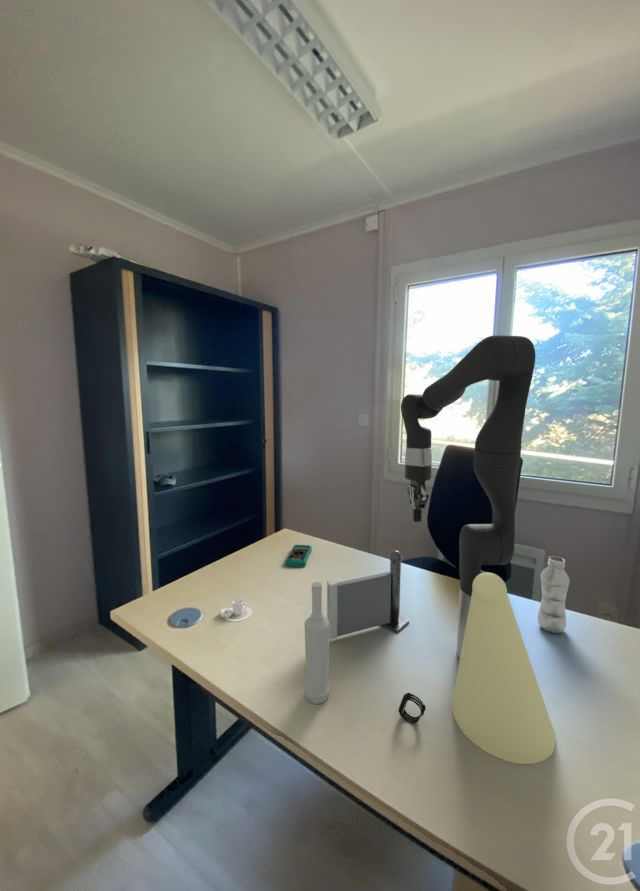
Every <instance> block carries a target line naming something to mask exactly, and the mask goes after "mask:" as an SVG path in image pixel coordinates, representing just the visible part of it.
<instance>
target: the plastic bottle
mask: <svg viewBox="0 0 640 891" xmlns="http://www.w3.org/2000/svg"><path fill="white" fill-rule="evenodd" d="M565 569H566V560H565V559H564V558H563V557H559V556H556V555H555V556H553V555H551V556H549V557H548V561H547V567H545V568H544V569H543V570H542V572H541V573H540V582H541V584H540V585H541V601H540V606H539V609H538V612H537V623H538V625H539V626H540V628H542V629H543V630H545V631H547V632H549V633H554V634H561V633H563V632H564V631H565V630H566V627H567V616H566V599H567V593H568V590H569V586H570V582H571V580H570V577H569V576H568V574H567V572H566V571H565Z"/></svg>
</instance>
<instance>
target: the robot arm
mask: <svg viewBox="0 0 640 891" xmlns="http://www.w3.org/2000/svg"><path fill="white" fill-rule="evenodd" d="M535 364H536V348H535V346H534V344H533V342H532V340H531V339H529V338H528V337H526V336H523V335H522V336H521V335H502V334H500V335H499V334H498V335H497V334H496V335H489V336H487V337H484V338H482V340H480V341H479V342H478V343H476V344H475V346H473V348H472V349H470V351H469V352H467V353H466V354H465V356H463V358H462V359H461V360H460V361H459V362H457V364H455V366H454V367H453V368H452V369H451V370H449V371H448V372H447V373H446V374H445V375H444V376H442V377H440V378H439V379H437V380H436V381H434V382H432V383H431V384H430V385H428V386H427V387H426V388H425V389H424V390H423V393H422V394H420V393H416V394H414V393H413V394H412V393H409V394H405V396H404V397H403V399H402V400H401V402H400V410H401V412H400V413H401V416H402V419H403V423H404V428H405V434H406V448H405V454H404V478H405V479H406V480H407V481H410V482H409V485H408V486H407V494H408V499H409V504H410V505H411V508H412V521H413V522H415V523H416V522H417V523H421V522H422V510H423V509H426V506H427V504H428V501H429V498H430V494H429V493H427V486H426V482H427V481H430V480H431V479H432V461H433V460H432V459H433V458H432V456H433V454H432V430H431V429H430V428H429V427H426V426H425V427H424V426H422V425H420V423H419V420H418V419H420V420H422V419H423V420H424V419H426V420H427V419H432V418H435V417H436V416H438V415H439V414H440V413H441V411H442V410H443V409H444V408H446V407H448V406H450V405H451V404H453V403H455V402H457V401H458V400H459V399H460V398H462V396H463V395H464V393H465V392H466V388H469V386H471V385H473V384H477V383H480V382H483V381H493V382H495V381H496V382H499V383H498V390H497V398H496V401H495V403H494V404H495V405H494V407H493V409H492V411H491V412H490V414H489V415H488V417H487V418H486V420H485V422H484V424H483V425H482V426H481V429H480V430H479V432H478V434H477V436H476V439H475V442H474V443H475V444H474V453H473V464H472V466H473V471H474V473H475V476H476V478H477V481H478V482H479V484H480V485H481V487H482V488H483V490H484V492H485V494H486V495H487V497H488V500H489V501H490V505H491V510H492V521H491V523H469V524H464V525H463V526H462V528H461V530H460V533H459V544H458V545H459V546H458V547H459V568H458V569H459V581H460V582H459V598H458V600H459V601H458V617H457V634H456V635H457V643H456V654H457V657H458V660H460V656H461V651H462V645H463V640H464V634H465V629H466V623H467V618H468V612H469V607H470V601H471V596H472V591H473V588H472V584H473V581H474V579H475V578H476V576H478V575H479V574H481V573H484V572H485V571H484V570H482V568H481V566H498V565H499V566H502V565H503V566H504V565H507V564H509V563H511V561H512V560H513V557H514V553H515V545H516V544H515V542H516V541H515V540H516V538H515V537H516V535H515V534H516V497H517V487H518V486H517V485H518V477H519V472H520V463H521V454H522V442H523V441H522V439H523V430H524V424H525V423H524V422H525V417H526V416H525V415H526V411H527V410H526V409H527V405H528V404H527V403H528V398H529V393H530V389H531V384H532V380H533V375H534V371H535Z"/></svg>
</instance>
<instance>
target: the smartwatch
mask: <svg viewBox="0 0 640 891" xmlns="http://www.w3.org/2000/svg"><path fill="white" fill-rule="evenodd" d="M409 701H410V702H413V703H414V704H415V705H416V706H417V707H418V708H419V709H420V714H419V715H418V716H412V715H410V714H409V713H408V712H407V711H406V707H407V704H408V702H409ZM425 711H426V704H424V703H423V701H422V700H421V699H420V698H419V697H418V696H417V695H414V694H412V693H411V692H407V693H404V695H403V696H402V699H401V701H400V704H399V706H398V714H399V716H400V717H401V718H402V719H403V720H404V721H406V722H407V723H410V724H412V725H414V724H416V723H418V722H419V720H420V719H422V717H423V716H424V713H425Z"/></svg>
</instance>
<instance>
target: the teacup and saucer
mask: <svg viewBox="0 0 640 891" xmlns="http://www.w3.org/2000/svg"><path fill="white" fill-rule="evenodd" d="M244 604H246V605H244ZM231 605H232V606H231V607H230V608H227V607H224V608H222V609H220V611H219V616H220V617H222V618H223V619H225V620H226V621H227V622H228V621H229V622H232V623H236V622H237V623H239V622H242V621H245V620H246V619H248V618H249V617H250V616H251V615H252V612H253V611H252V609H251V608H250V607H248V602H246V601H244V600H243V599H241V598H235V599H234V600H232V602H231ZM245 611H246V612H247V614H246V615H245V616H243V617H241V618H238V619H235V618H230V617H231V616H232V615H233V614H234V616H241V615H242V614H243V613H244V612H245Z"/></svg>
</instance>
